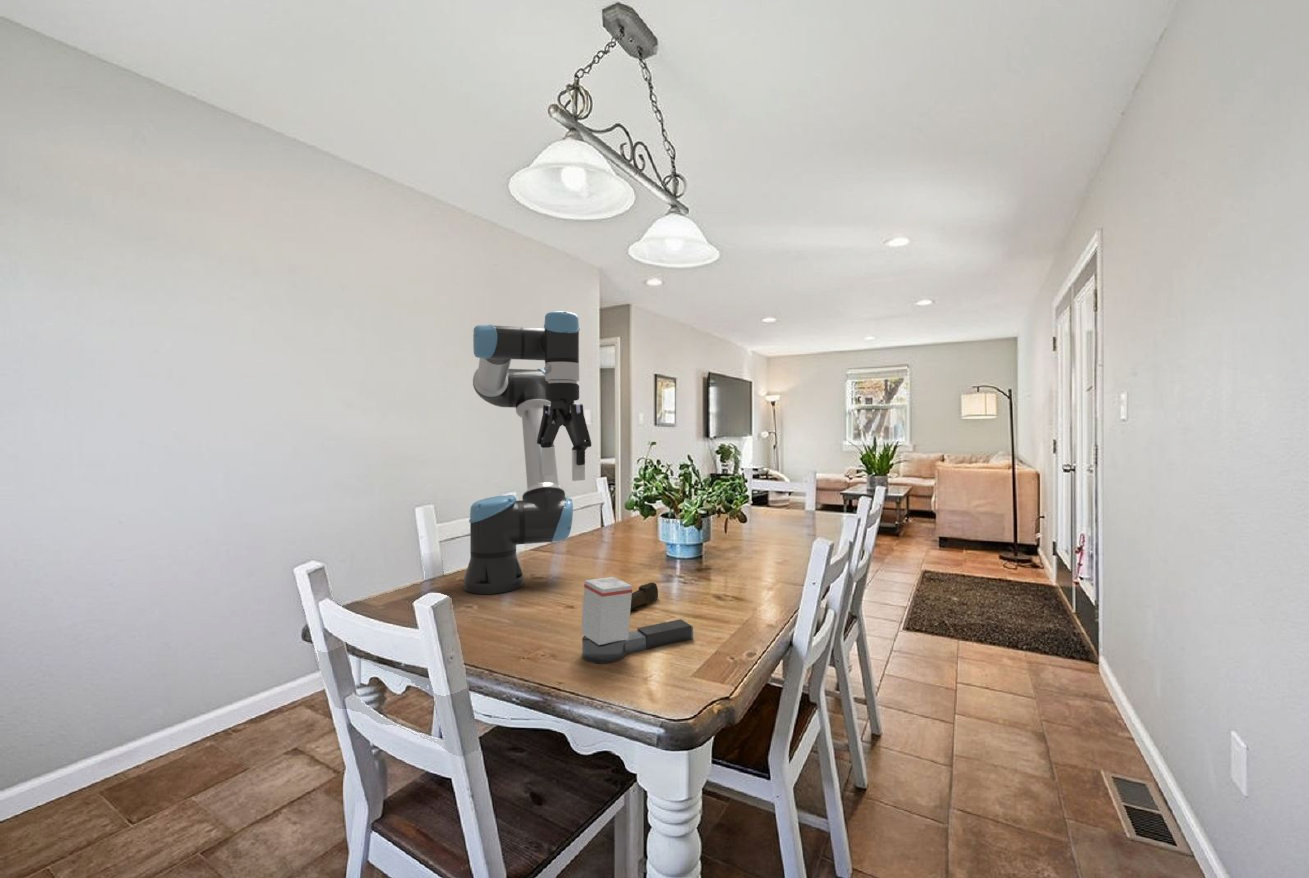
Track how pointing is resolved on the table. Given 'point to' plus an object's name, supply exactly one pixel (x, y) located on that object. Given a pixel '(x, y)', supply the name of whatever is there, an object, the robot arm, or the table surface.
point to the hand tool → (644, 595)
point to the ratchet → (637, 641)
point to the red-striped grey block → (606, 610)
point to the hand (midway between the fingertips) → (562, 477)
